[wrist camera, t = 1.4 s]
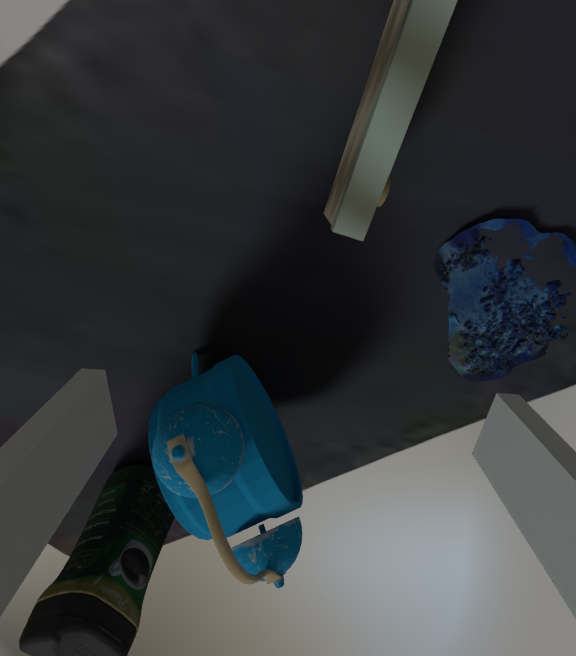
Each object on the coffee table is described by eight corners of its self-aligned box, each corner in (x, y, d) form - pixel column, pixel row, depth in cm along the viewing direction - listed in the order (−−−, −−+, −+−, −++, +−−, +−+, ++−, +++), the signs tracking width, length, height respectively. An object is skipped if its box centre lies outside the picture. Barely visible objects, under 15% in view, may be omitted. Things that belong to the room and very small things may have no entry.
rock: (455, 383, 39) (463, 393, 37) (414, 246, 32) (421, 250, 31) (593, 335, 36) (608, 344, 34) (577, 176, 30) (596, 176, 28)
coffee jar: (100, 472, 45) (-14, 655, 28) (149, 453, 43) (60, 635, 27) (144, 516, 49) (66, 700, 32) (190, 500, 47) (135, 685, 30)
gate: (427, -115, 21) (520, -307, 12) (476, -93, 21) (598, -264, 13) (320, 212, 29) (332, 231, 21) (357, 223, 30) (383, 247, 21)
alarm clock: (164, 348, 37) (41, 526, 19) (249, 313, 35) (204, 472, 17) (236, 454, 43) (197, 660, 25) (311, 429, 41) (327, 633, 23)
